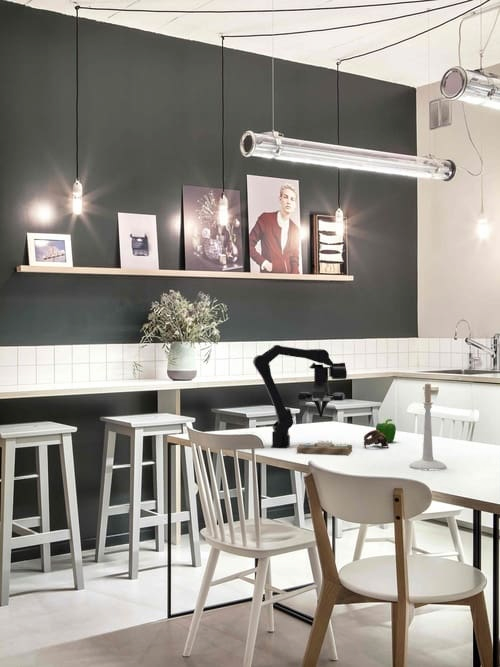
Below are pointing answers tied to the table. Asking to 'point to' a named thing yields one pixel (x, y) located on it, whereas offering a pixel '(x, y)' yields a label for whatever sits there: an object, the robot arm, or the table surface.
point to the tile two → (324, 443)
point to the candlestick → (427, 439)
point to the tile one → (308, 444)
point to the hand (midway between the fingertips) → (321, 417)
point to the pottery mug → (375, 438)
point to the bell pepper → (387, 430)
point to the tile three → (341, 446)
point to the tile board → (324, 450)
